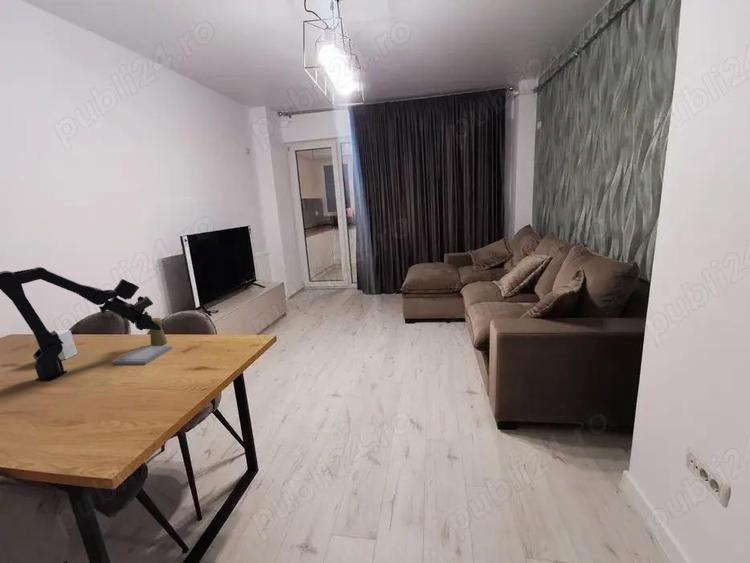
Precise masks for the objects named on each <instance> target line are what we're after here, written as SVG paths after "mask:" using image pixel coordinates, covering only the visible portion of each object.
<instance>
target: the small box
mask: <svg viewBox="0 0 750 563" xmlns="http://www.w3.org/2000/svg"><path fill="white" fill-rule="evenodd" d="M54 331H55V332H56V333H57V334H58V336H59V339H61V341H62V342H63V344H62V346H63V349H62V352H61V353H60V354H59V355H58V357H59V358H60V360H61V361H62V360H63V361H65V360H64V359H66V360H67V359H70V358H71V357H74V356H76V355H77V354H78V351H77V347H76V344H75V341H74V337H73V334H72V331H71V330H54ZM49 332H50V331H49ZM51 332H52V331H51ZM51 332H50V333H51Z"/></svg>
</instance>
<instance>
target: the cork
mask: <svg viewBox="0 0 750 563" xmlns="http://www.w3.org/2000/svg"><path fill="white" fill-rule="evenodd" d="M152 321H153V322H155V323H156V324H157V325H159V326H160V327H161V328H162V329H161V330H150V329H149V333H150V334H149V335H150V346H164V345H166V343H168V340H167V337H166V334H165V333H164V332H165V331H164V330H163V327H162V323H163V321H162V319H161V318H160V317H152Z"/></svg>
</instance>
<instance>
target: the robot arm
mask: <svg viewBox="0 0 750 563" xmlns="http://www.w3.org/2000/svg"><path fill="white" fill-rule="evenodd" d="M39 280H42V281H44V282H46V283H49V284H52V285H54V286H57V287H59V288H62V289H64V290H67V291H69V292H72V293H74V294H77V295H78V296H79V297H81V298H83V299H85V300H86V301H89V303H92V304H93V305H95V306H96V305H97V306H98V308H99V310H100V313H101V314H102V315H103V314H105V313H106V312H110V313H112V314H113V315H116V316H118V317H119V318H120V319H123V320H124V319H125V320H126V321H129V322H130V323H131V324H133V325H134V326H135V329H137V330H140V331H143V330H149V331H150V330H161V329H163V327H162V326H161V327H162V328H161V327H160V326H159V325H157V324H156V323H155V322H153V321H152V318H153V317H152V315H151V314H148V311H147V310H146V309H147V308H149V307H151V306H153V305H154V303H153V301H152V300H151V299H150V297H149V296H146V295H145V296H142V295H141V296H138V297H137V301H136V302H135V303H134V304H133V303H128V302H127V300H131V299H132V298H133V297H134V296H135V293H137V291H138V290H139V289H140V287H139V286H138V285H136V284H134V283H133V282H130V281H127V280H125V279H123V278H120V280H119V282H118V284H117V285H116V286H115V287H114V289H101V288H97V287H94V286H89V285H86V284H81V283H79V282H76V281H74V280H71V279H69V278H67V277H64V276H62V275H59V274H57V273H55V272H52V271H50V270H48V269H46V268H44V267H41V266H37V267H33V268H28V269H23V270H18V271H9V270H4V271H3V270H2V271H0V290H1V292H2V293H4V295H5V296H6V297H8V298H9V299H10V300H11V301H12V303H13V305H14V306H15V307H16V309H17V311H18V312H19V313H20V315H21V316H22V318H23V319H24V321H25V323H26V324H27V326H28V327H29V328H30V330H31V331H32V332H31V333H33V335H34V338H35V341H36V345H37V347H38V349H37V350H36V351H35V352H34V354H33V355H32V357H33V359H34V360H35V362H36V363H35V364H33V365H34V369H35V372H36V375H37V378H35V379H34V380H35V381H41V382H42V381H43V382H44V381H45V382H47V381H48V382H49V381H52V380H54V379H56V378H59V377H61V376H62V375H65V374H66V373H68V370H65V367H64V365H63V361H62V360H60V358H59V357H58V355H59V354H60V353H61V352H62V349H63V346H62V344H63V342H62V341H61V339H59V336H58V334H57V333H56V332H55V331H56V330H53V331H51V333H50V331H49V330H48V329H47V328H46V326H45V324H44V323H43V321H42V319H41V318H40V317H39V315H38V313H37V312H36V310H35V309H34V307H33V306H32V304H31V302H30V301H29V300H28V297H27V296H26V293H25V290H24V288H23V285H24V284H27V283H31V282H35V281H39ZM120 298H121V299H120ZM122 299H123V300H122Z"/></svg>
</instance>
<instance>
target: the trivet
mask: <svg viewBox="0 0 750 563" xmlns="http://www.w3.org/2000/svg"><path fill="white" fill-rule="evenodd" d="M172 349H173V346H172V345H159V346H151V345H141V346H139V347H137V348H135V349H133V350H131V351H130V352H128V353H126V354H124V355H122V356H119V357H118V358H116V359H114V360H112V363H113V365H147V364H149V363H151V362H152V361H154V360H155V359H157V358H159V357H160V356H162V355H164V354H166V353H167V352H169V351H171V350H172Z"/></svg>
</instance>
